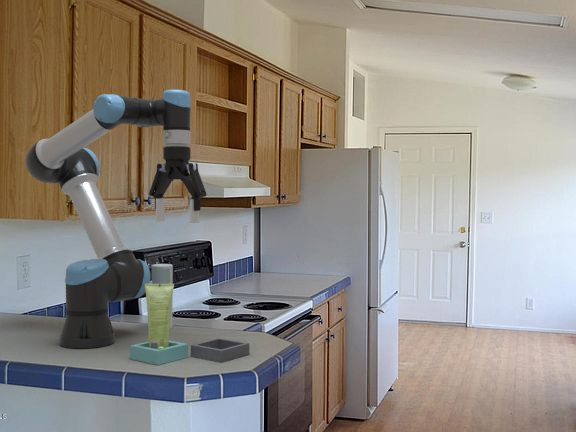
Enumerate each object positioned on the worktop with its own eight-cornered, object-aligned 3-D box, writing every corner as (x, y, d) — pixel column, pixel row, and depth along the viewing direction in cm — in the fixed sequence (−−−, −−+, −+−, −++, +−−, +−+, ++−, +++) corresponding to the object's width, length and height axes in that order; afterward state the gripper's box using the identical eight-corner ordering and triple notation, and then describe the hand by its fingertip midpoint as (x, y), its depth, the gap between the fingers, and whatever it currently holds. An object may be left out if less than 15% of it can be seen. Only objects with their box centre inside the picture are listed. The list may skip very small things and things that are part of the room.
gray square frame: (190, 356, 189) (190, 344, 189) (218, 348, 198) (218, 337, 198) (221, 362, 183) (221, 350, 183) (249, 354, 192) (249, 343, 191)
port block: (130, 359, 186) (130, 343, 186) (160, 351, 194) (160, 336, 194) (158, 365, 180) (158, 348, 180) (187, 357, 188) (187, 341, 188)
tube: (161, 354, 191) (161, 281, 190) (174, 357, 188) (174, 283, 187) (144, 358, 187) (144, 283, 186) (157, 361, 183) (157, 285, 183)
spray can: (174, 326, 230) (174, 263, 229) (170, 330, 223) (170, 266, 222) (154, 325, 230) (154, 263, 229) (149, 330, 223) (149, 266, 223)
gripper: (136, 146, 205) (136, 221, 206) (200, 144, 190) (200, 224, 191) (156, 148, 211) (156, 220, 212) (219, 145, 196) (219, 223, 197)
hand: (177, 222), depth 201 cm, fingers open, 13 cm apart
